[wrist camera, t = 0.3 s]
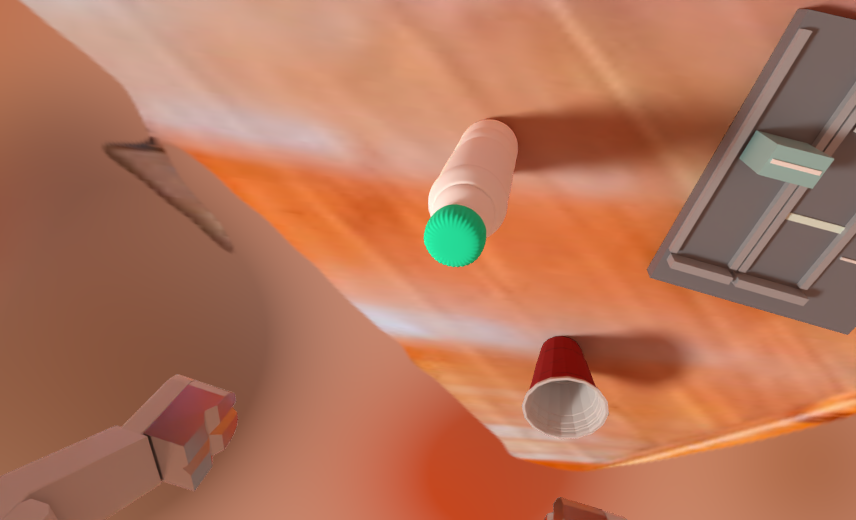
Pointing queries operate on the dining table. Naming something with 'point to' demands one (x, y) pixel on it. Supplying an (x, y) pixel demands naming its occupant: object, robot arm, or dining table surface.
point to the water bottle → (471, 193)
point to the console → (780, 190)
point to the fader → (785, 159)
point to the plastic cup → (564, 393)
